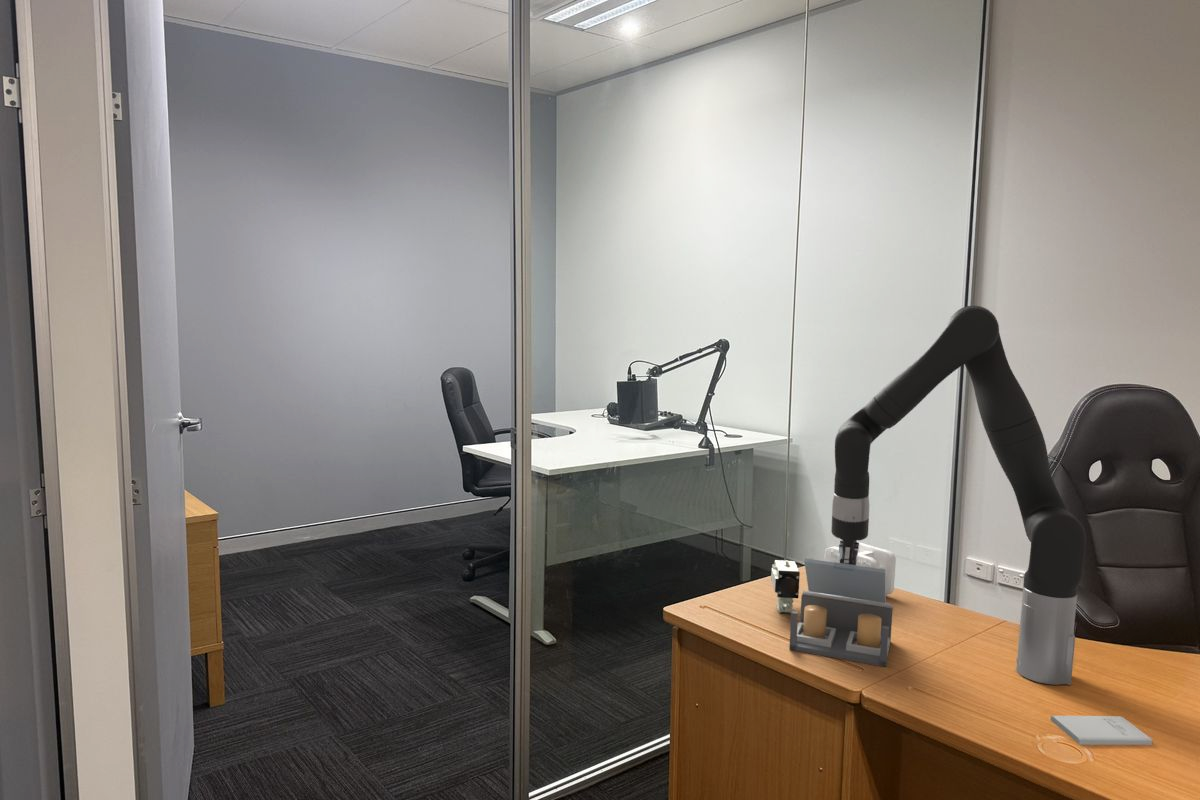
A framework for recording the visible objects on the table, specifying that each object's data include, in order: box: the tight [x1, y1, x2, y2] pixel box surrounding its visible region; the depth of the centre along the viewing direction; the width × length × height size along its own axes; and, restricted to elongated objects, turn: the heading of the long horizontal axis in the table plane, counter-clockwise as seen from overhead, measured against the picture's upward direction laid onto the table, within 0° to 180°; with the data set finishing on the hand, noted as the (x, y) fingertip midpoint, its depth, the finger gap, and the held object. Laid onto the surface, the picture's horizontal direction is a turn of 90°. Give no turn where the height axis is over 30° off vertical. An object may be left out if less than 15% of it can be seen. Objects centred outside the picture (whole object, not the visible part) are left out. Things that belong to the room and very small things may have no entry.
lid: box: [804, 558, 887, 603], centre depth 173 cm, size 16×13×1 cm
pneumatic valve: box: [770, 559, 801, 614], centre depth 193 cm, size 6×12×12 cm, turn 174°
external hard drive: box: [1050, 715, 1153, 746], centre depth 140 cm, size 2×8×12 cm
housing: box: [789, 590, 894, 668], centre depth 173 cm, size 19×14×8 cm
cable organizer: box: [823, 541, 897, 596], centre depth 205 cm, size 15×11×12 cm
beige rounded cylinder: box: [857, 614, 882, 648], centre depth 171 cm, size 5×5×6 cm
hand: (847, 590), depth 178 cm, fingers closed
